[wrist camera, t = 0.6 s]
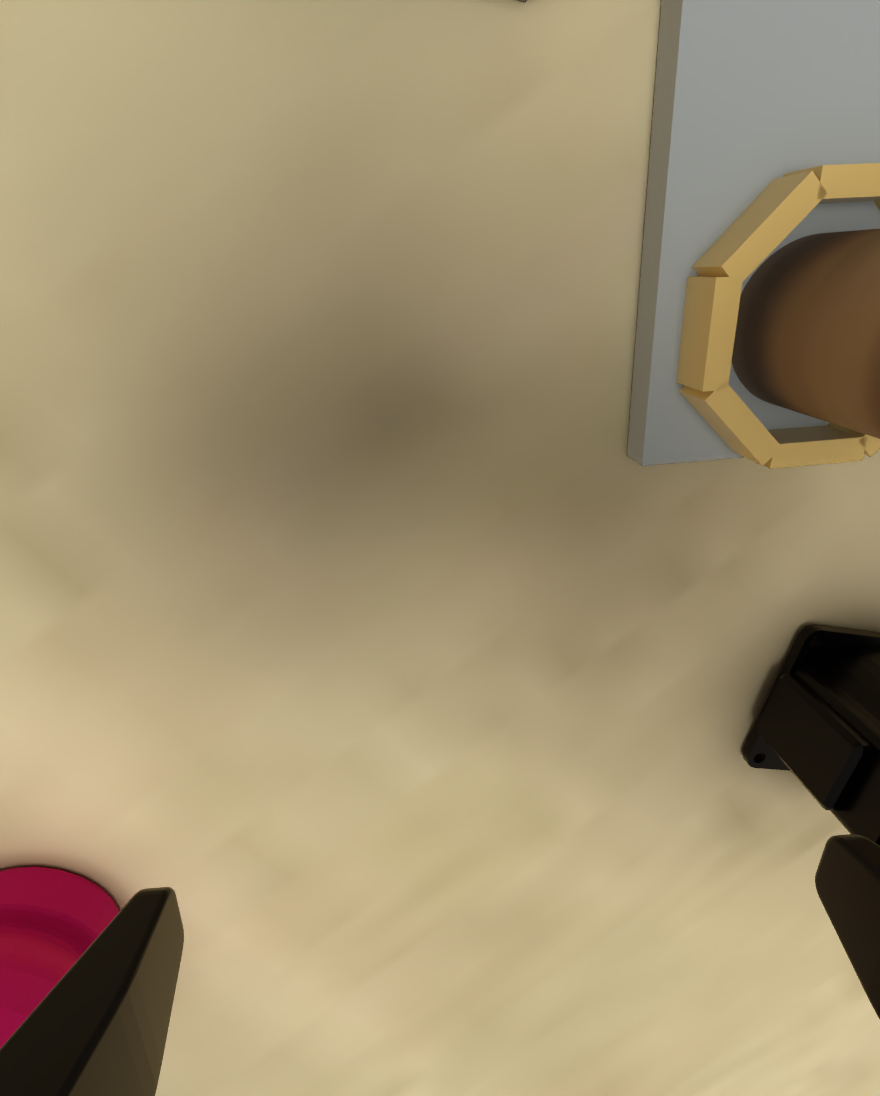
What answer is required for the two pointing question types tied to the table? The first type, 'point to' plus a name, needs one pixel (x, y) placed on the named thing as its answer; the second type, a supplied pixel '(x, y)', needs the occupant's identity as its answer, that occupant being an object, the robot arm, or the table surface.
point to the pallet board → (746, 210)
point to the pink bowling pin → (43, 934)
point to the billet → (815, 329)
